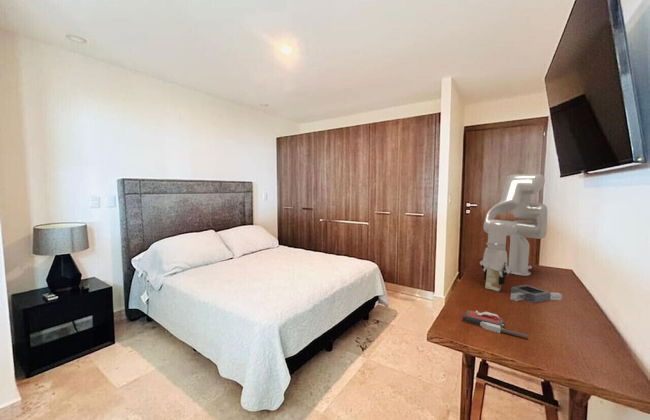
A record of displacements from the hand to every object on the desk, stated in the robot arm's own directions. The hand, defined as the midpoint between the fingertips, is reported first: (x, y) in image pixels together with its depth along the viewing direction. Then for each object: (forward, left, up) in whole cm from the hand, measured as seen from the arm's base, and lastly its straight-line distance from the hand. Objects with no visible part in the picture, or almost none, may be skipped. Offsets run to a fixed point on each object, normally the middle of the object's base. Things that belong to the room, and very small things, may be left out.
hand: (493, 281), depth 136 cm
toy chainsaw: (+35, +27, -5) cm, 45 cm away
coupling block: (-7, +13, -4) cm, 15 cm away
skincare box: (0, 0, -4) cm, 4 cm away
